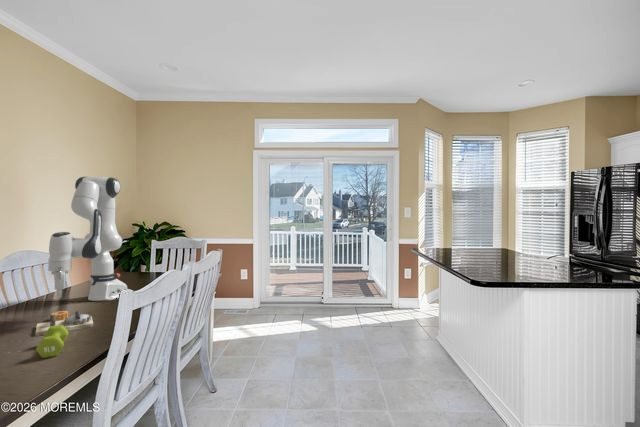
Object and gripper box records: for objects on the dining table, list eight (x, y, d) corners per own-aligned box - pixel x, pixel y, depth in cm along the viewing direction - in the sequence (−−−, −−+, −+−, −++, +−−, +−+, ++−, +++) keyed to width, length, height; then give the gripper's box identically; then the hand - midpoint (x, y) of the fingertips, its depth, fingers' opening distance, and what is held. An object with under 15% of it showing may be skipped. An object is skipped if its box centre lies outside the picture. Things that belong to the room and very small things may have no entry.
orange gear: (51, 318, 163) (51, 312, 163) (68, 316, 167) (68, 309, 167) (50, 322, 157) (50, 316, 157) (68, 319, 161) (68, 313, 161)
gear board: (91, 318, 163) (91, 306, 163) (93, 326, 153) (93, 313, 153) (37, 327, 151) (37, 313, 151) (35, 336, 141) (35, 321, 141)
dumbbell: (62, 356, 123) (63, 336, 123) (34, 360, 119) (34, 340, 119) (69, 340, 137) (69, 322, 137) (44, 344, 133) (44, 326, 133)
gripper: (68, 269, 155) (67, 299, 155) (68, 263, 171) (67, 290, 171) (51, 270, 151) (50, 301, 151) (52, 264, 167) (51, 292, 167)
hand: (59, 295), depth 161 cm, fingers open, 8 cm apart
